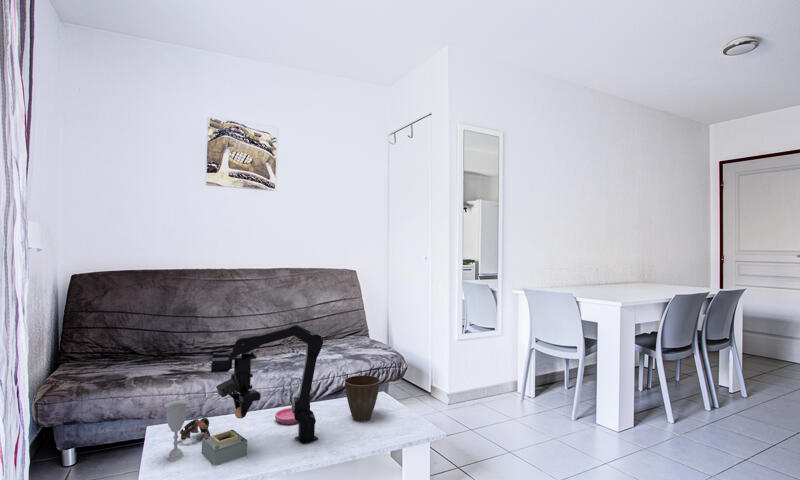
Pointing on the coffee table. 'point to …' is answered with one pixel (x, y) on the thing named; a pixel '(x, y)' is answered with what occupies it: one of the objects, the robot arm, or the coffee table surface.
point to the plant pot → (362, 395)
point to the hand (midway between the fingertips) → (240, 415)
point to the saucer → (286, 416)
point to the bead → (238, 413)
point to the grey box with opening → (224, 447)
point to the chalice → (176, 424)
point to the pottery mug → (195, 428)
